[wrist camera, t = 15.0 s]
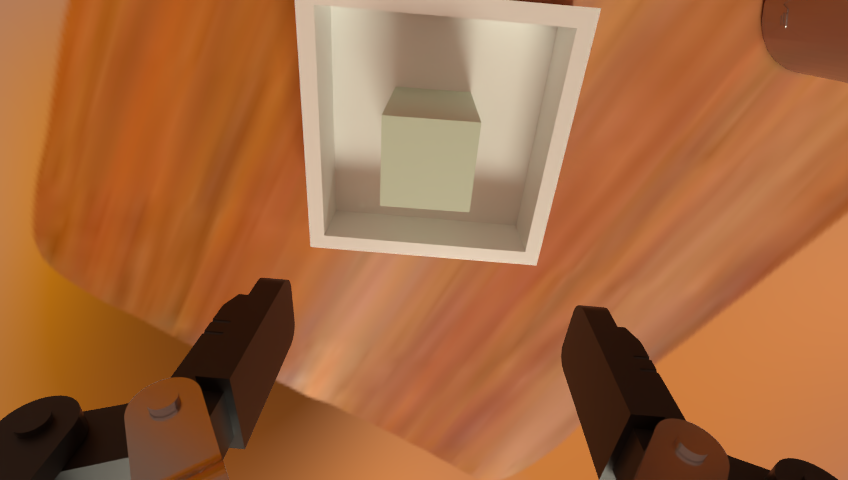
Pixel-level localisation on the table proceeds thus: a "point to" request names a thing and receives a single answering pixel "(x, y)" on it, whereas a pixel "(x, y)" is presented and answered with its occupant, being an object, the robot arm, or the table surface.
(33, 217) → the table surface
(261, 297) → the robot arm
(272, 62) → the table surface
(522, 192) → the serving bin
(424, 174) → the cream block
